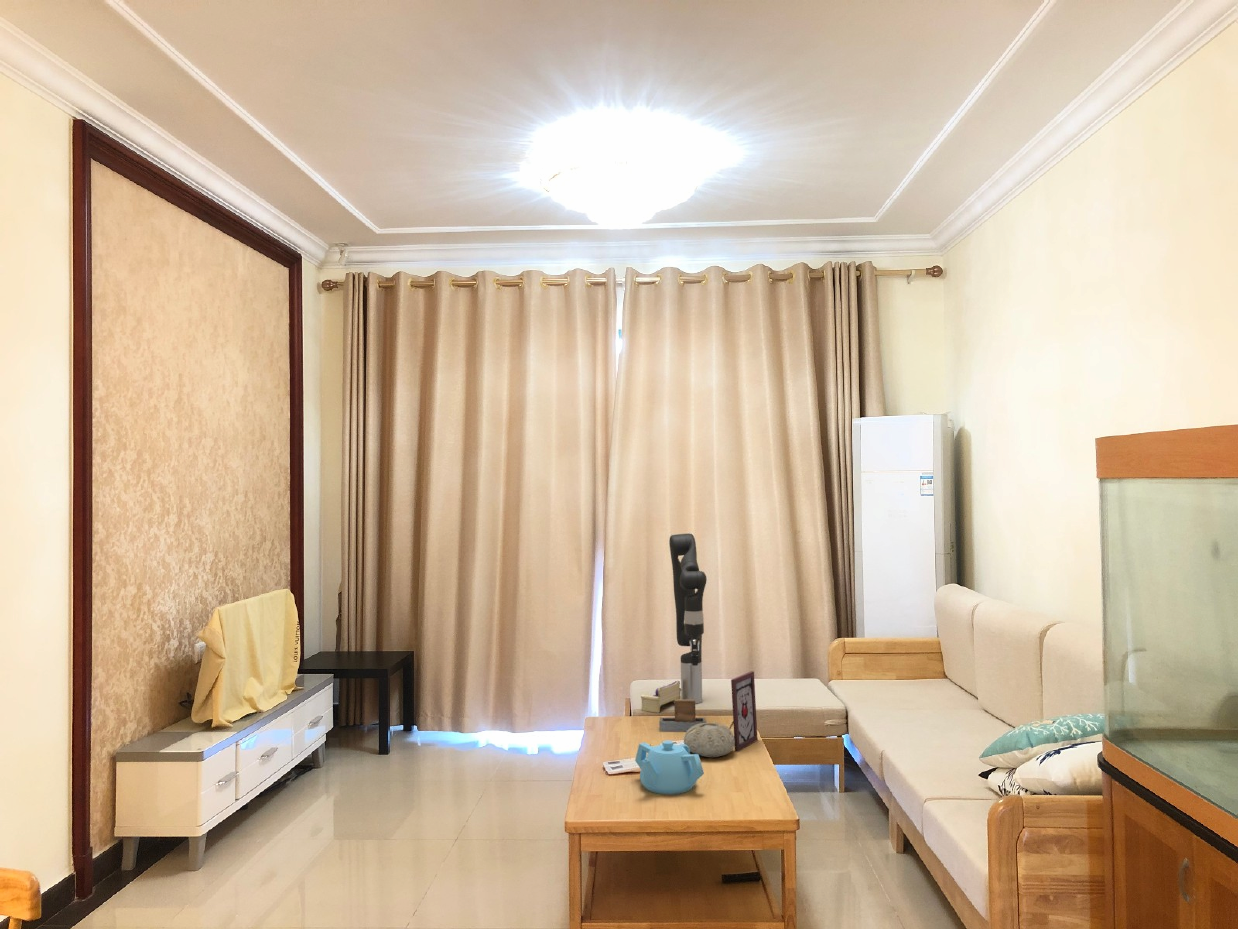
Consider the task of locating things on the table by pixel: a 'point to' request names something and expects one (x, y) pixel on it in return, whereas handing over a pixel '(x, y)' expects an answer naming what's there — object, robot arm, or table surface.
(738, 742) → the picture frame
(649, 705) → the toy sofa
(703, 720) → the tray
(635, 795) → the table surface
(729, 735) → the decorative shell
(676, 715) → the door panel
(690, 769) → the teapot
